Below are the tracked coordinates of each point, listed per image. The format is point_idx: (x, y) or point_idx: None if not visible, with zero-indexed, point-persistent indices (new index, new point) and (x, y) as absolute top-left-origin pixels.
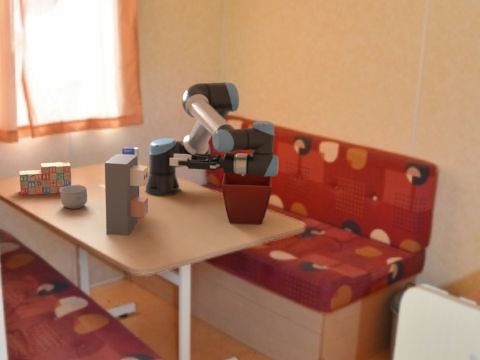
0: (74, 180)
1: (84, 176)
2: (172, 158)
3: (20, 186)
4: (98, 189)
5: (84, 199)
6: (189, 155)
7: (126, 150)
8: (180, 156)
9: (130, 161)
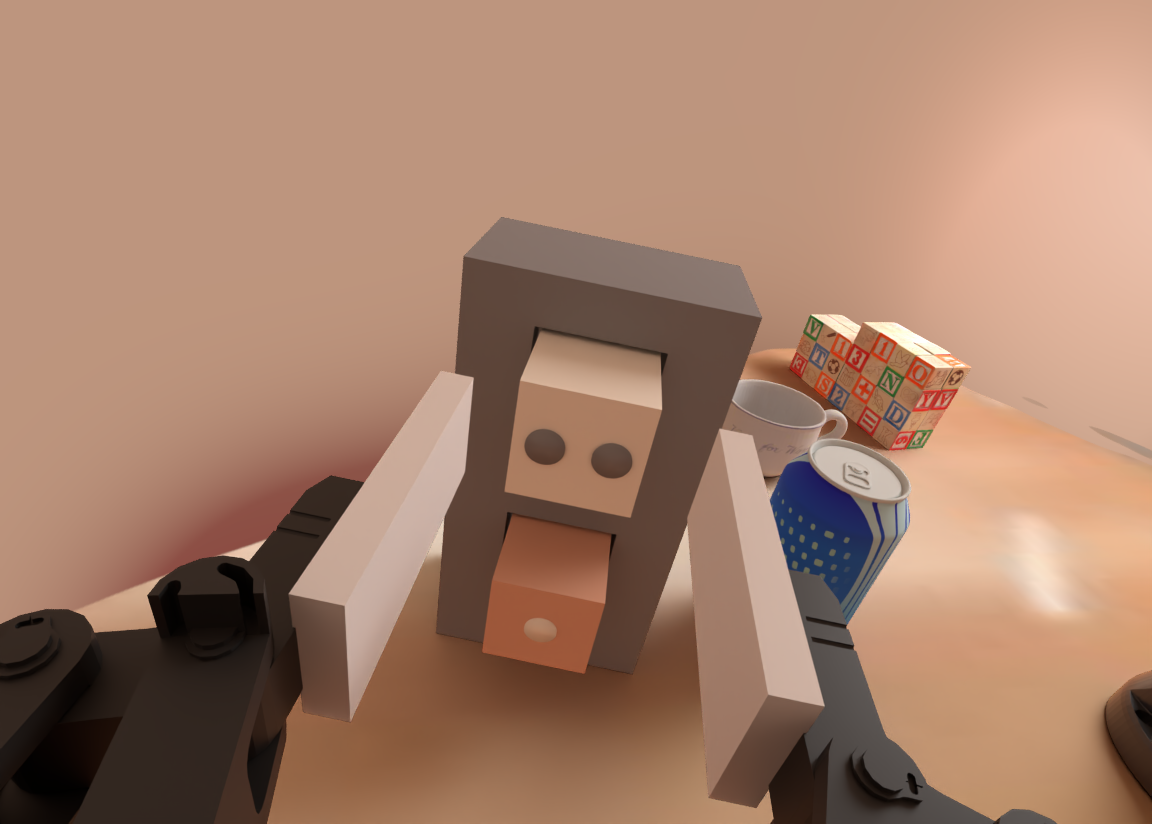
0: (1003, 454)
1: (1068, 475)
2: (426, 393)
3: (798, 346)
4: (976, 513)
5: (758, 454)
6: (758, 661)
7: None
8: (720, 529)
9: (566, 281)
